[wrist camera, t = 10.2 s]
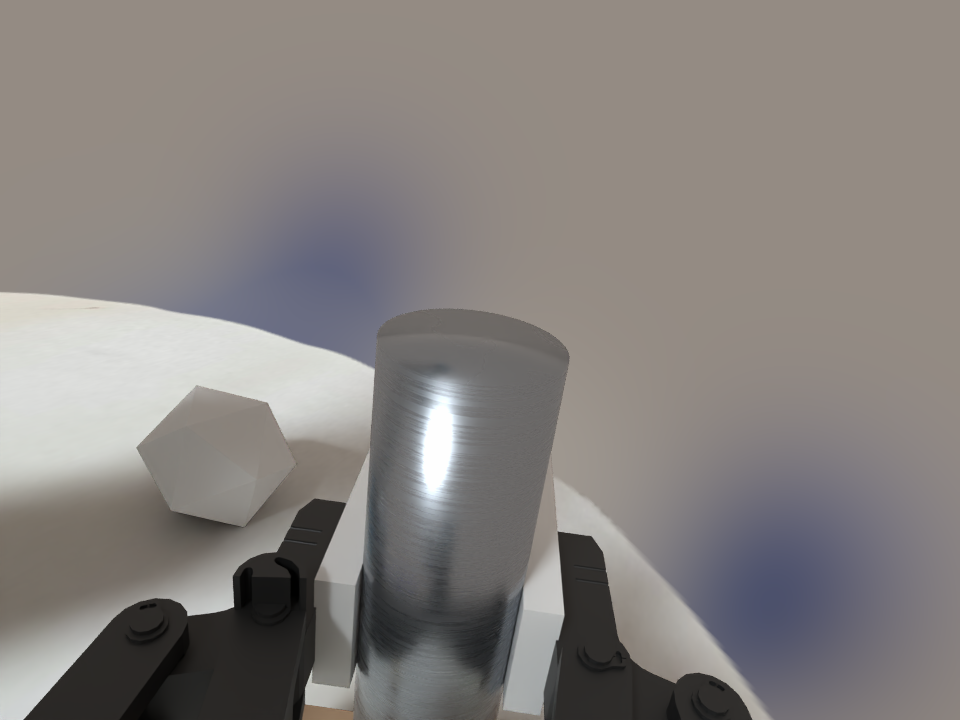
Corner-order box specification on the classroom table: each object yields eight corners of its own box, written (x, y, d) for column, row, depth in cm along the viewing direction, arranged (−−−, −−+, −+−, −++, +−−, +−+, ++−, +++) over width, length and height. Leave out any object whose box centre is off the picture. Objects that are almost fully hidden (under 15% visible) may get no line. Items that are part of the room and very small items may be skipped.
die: (315, 495, 44) (272, 368, 45) (294, 515, 36) (241, 359, 36) (202, 536, 43) (158, 407, 43) (152, 568, 35) (99, 406, 35)
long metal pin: (326, 813, 16) (346, 316, 11) (433, 756, 18) (499, 303, 12) (375, 948, 14) (435, 401, 8) (493, 869, 16) (609, 369, 10)
